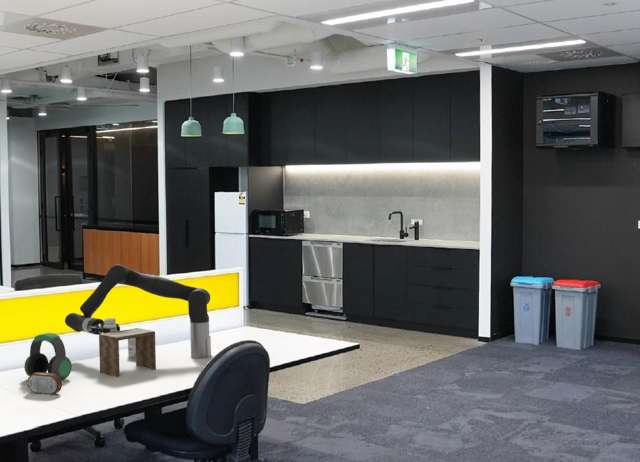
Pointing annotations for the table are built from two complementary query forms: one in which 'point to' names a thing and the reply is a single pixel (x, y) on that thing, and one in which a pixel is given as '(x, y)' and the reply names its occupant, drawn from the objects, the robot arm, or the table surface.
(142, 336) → the tunnel
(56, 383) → the tin
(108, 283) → the robot arm
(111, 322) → the pill bottle
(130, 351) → the ink box
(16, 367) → the table surface
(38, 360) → the headphones
